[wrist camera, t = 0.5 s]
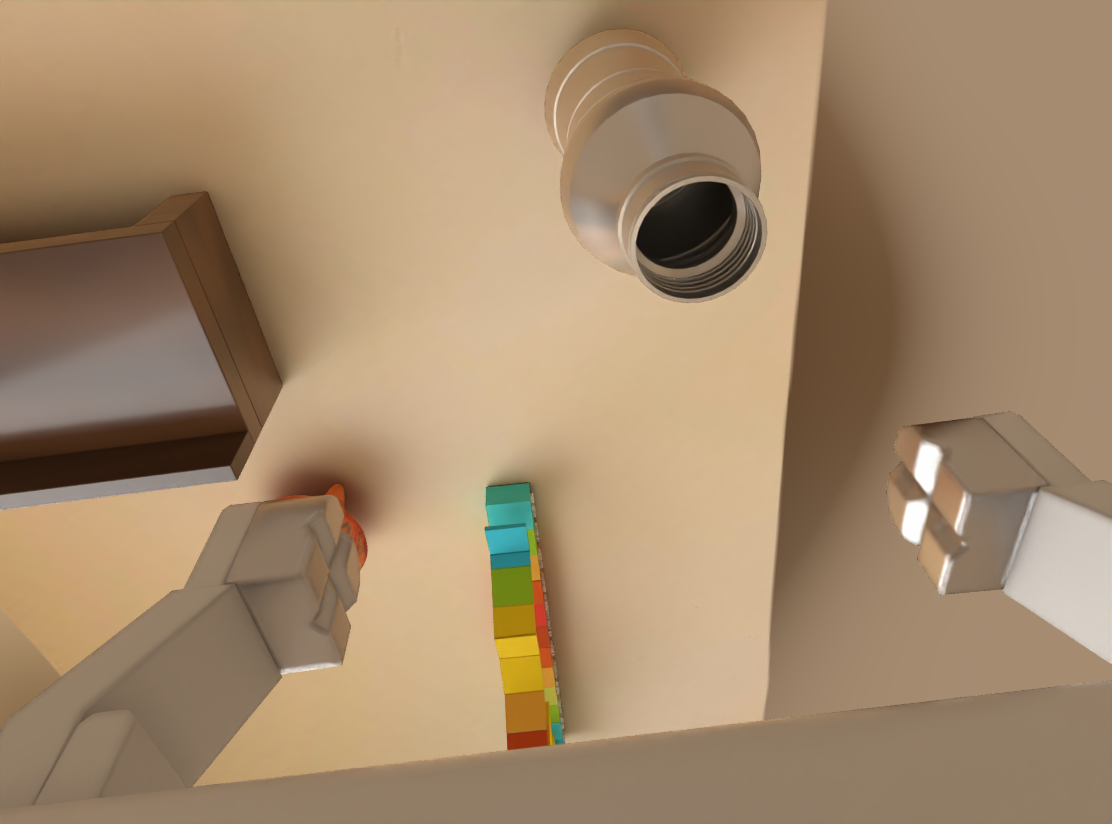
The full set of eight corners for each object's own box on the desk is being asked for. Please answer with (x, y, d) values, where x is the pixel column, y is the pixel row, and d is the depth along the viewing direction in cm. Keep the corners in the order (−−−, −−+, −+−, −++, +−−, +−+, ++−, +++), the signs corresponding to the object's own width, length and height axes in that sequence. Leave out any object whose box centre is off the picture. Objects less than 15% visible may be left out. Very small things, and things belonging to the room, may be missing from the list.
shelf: (-97, 231, 37) (-247, 306, 30) (207, 191, 37) (132, 257, 30) (25, 419, 44) (-73, 519, 36) (283, 386, 44) (237, 480, 36)
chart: (565, 735, 66) (579, 921, 54) (531, 738, 66) (537, 926, 54) (532, 481, 49) (542, 669, 37) (486, 486, 49) (479, 675, 37)
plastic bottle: (678, 152, 37) (817, 331, 21) (550, 171, 37) (585, 363, 21) (674, 12, 34) (839, 94, 17) (532, 33, 34) (558, 135, 17)
